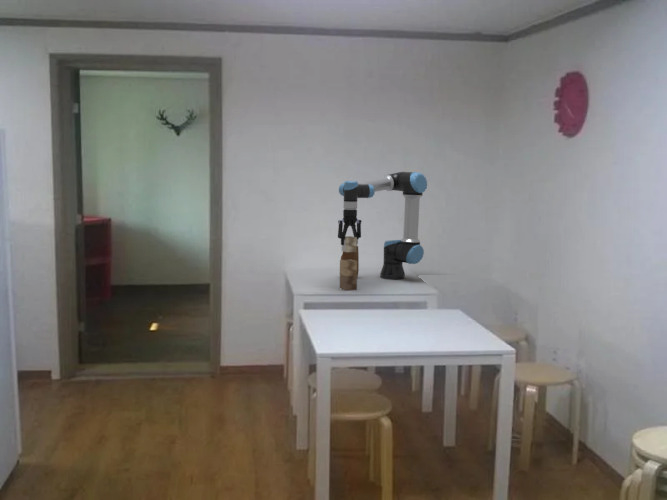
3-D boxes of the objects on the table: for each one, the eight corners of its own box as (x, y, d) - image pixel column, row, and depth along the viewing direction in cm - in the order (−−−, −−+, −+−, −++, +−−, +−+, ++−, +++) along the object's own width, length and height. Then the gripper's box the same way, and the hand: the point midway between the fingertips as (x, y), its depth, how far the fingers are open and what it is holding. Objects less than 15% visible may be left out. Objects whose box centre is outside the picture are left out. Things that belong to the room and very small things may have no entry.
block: (357, 276, 444) (358, 244, 441) (358, 278, 436) (359, 246, 434) (339, 276, 443) (340, 244, 440) (340, 278, 436) (341, 245, 433)
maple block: (351, 250, 404) (351, 236, 403) (356, 251, 399) (356, 237, 398) (341, 250, 402) (342, 236, 401) (346, 252, 396) (347, 237, 395)
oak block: (350, 273, 407) (351, 259, 406) (356, 275, 401) (357, 261, 400) (339, 274, 404) (340, 260, 403) (345, 276, 397) (345, 261, 396)
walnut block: (350, 287, 408) (351, 273, 407) (356, 289, 402) (357, 275, 401) (339, 288, 405) (340, 274, 404) (345, 290, 399) (345, 276, 398)
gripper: (361, 208, 405) (360, 249, 408) (331, 208, 396) (330, 250, 399) (368, 209, 398) (367, 251, 401) (338, 209, 390) (336, 252, 393)
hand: (349, 250), depth 400 cm, fingers closed on maple block, 6 cm apart
